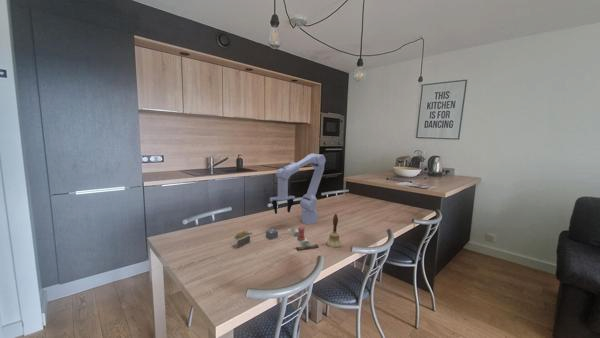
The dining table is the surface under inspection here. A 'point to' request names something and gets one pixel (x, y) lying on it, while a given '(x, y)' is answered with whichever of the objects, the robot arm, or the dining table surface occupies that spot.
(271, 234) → the die
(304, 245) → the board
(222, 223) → the dining table surface
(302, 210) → the robot arm
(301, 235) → the pawn
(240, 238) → the potted plant
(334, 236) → the hand bell
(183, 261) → the dining table surface
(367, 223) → the dining table surface
